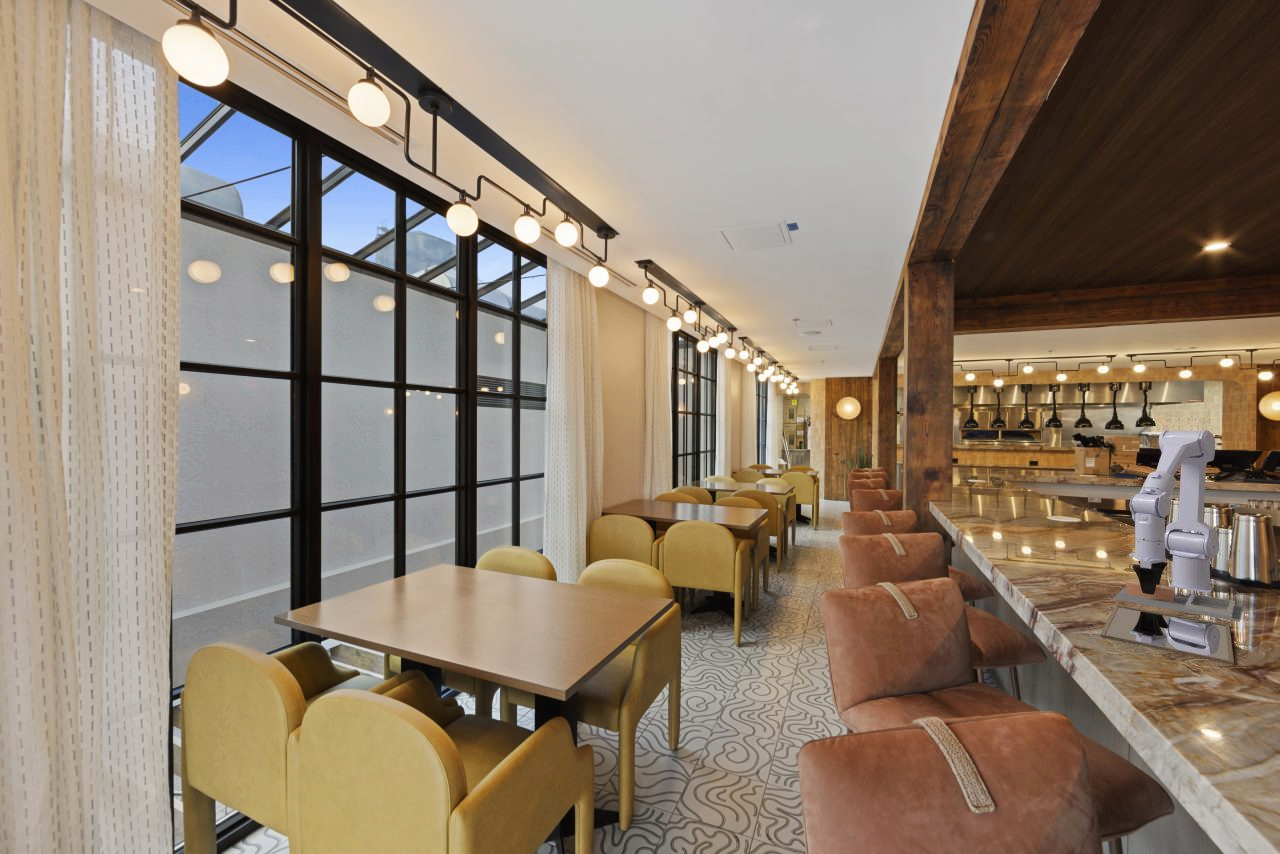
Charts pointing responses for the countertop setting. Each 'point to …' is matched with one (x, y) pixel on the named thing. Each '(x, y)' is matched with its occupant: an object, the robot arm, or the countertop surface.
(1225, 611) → the tray frame
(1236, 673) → the countertop surface
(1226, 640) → the framed mirror
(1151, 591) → the robot arm
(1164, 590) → the tall peach block
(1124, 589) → the mat
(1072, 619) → the countertop surface
